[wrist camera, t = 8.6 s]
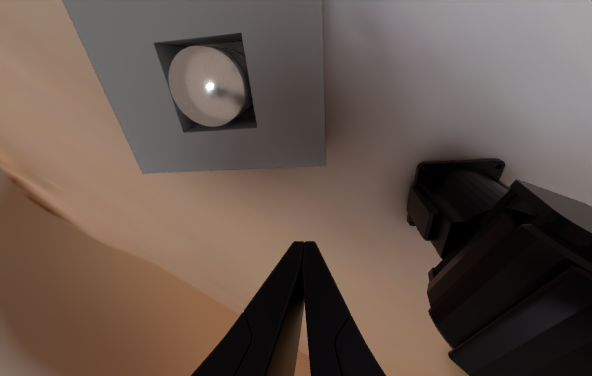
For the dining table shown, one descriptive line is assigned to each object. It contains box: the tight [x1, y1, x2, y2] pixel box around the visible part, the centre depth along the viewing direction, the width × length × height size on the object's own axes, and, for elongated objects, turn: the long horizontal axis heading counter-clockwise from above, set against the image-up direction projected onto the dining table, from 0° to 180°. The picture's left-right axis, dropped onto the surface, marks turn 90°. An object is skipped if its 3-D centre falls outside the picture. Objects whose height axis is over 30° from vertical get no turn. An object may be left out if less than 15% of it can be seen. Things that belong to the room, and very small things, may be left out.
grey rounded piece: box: [168, 46, 253, 127], centre depth 15 cm, size 4×4×4 cm
